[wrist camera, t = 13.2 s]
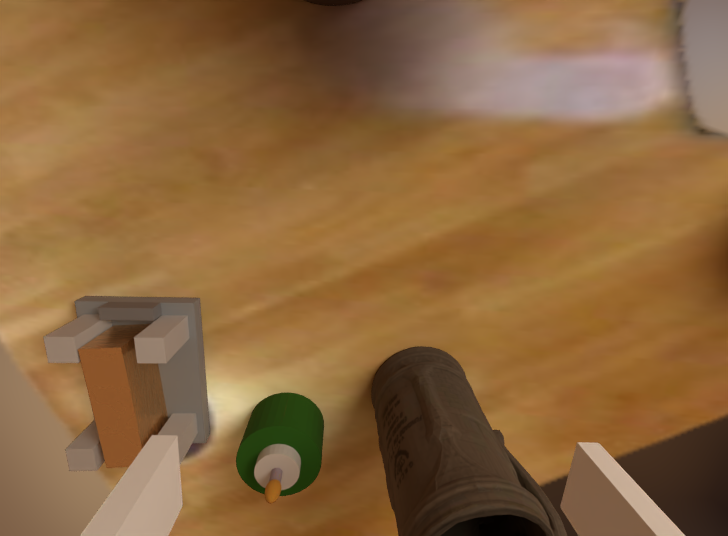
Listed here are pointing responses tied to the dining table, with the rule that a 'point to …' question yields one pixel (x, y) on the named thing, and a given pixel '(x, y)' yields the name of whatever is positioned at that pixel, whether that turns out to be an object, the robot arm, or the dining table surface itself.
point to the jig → (153, 345)
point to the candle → (281, 446)
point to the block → (122, 394)
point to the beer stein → (450, 456)
